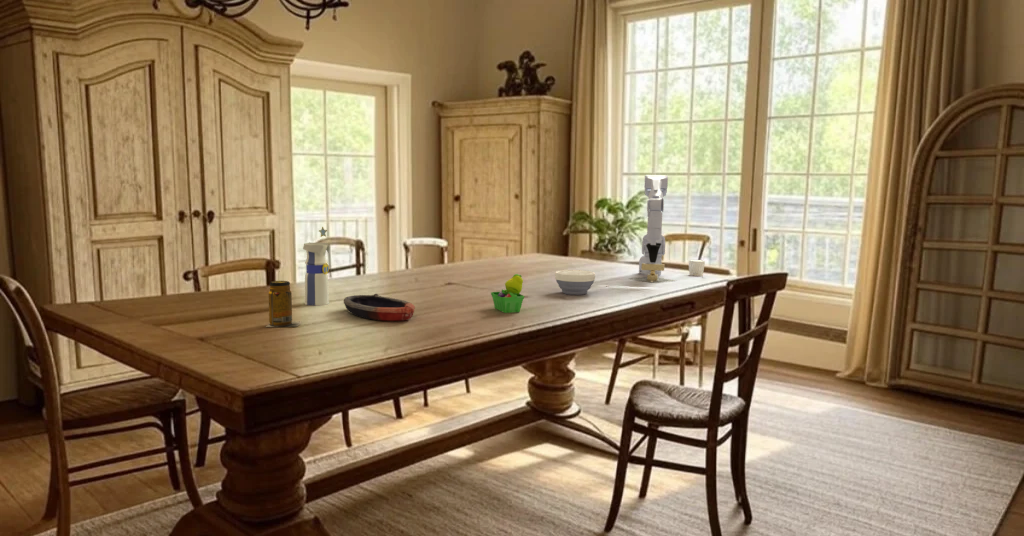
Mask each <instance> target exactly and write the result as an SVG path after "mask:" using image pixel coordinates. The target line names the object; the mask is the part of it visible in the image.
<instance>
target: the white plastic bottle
mask: <svg viewBox="0 0 1024 536" xmlns="http://www.w3.org/2000/svg"><path fill="white" fill-rule="evenodd" d="M318 232H319V233H320V237H321V238H323V236H324V237H325V238H326V237H327V235H326V233H327V232H328V230H327V229H325V228H324V226H321V229H320V230H319V229H318ZM302 249H303V250H304V251H306V252H305V253H306V260H305V261H304V264H305V265H306V266H305V267H306V269H305V270H306V273H305V276H304V305H306V306H313V307H314V306H328V305H329V304H330V294H329V275H328V273H329V270H330V266H329V264H328V260H327V258H326V253H327V254H329V252H330V245H329V243H327V242H306V243H304V244H303V246H302Z"/></svg>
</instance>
